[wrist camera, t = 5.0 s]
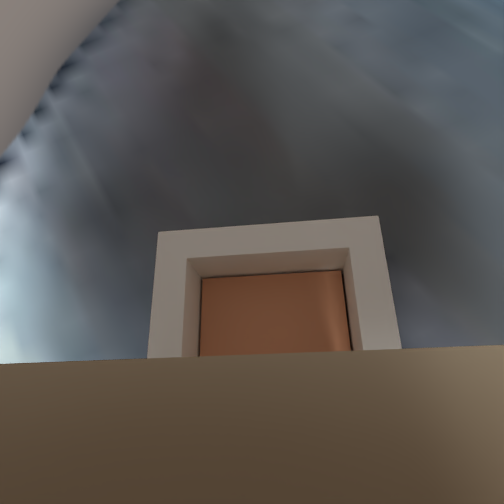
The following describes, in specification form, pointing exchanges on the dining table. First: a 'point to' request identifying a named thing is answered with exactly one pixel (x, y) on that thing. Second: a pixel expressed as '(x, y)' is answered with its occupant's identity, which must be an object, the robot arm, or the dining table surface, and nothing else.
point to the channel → (272, 290)
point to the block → (257, 429)
